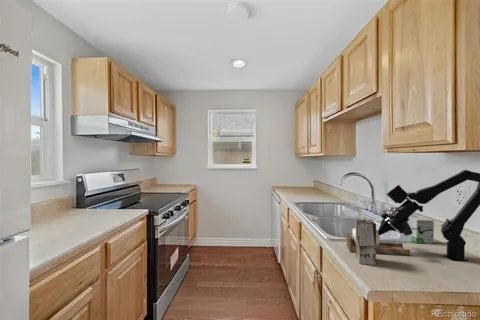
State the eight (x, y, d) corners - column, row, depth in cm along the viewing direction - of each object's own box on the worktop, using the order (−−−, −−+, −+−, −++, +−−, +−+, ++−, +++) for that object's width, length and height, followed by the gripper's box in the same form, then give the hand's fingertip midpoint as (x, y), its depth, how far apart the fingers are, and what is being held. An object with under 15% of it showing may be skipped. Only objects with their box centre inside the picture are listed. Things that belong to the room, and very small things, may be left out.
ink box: (416, 243, 151) (416, 219, 151) (411, 240, 156) (411, 217, 156) (434, 243, 151) (434, 219, 151) (428, 241, 156) (428, 217, 155)
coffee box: (376, 265, 120) (376, 223, 120) (358, 264, 121) (359, 223, 121) (371, 257, 129) (371, 219, 129) (355, 256, 130) (355, 218, 130)
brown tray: (402, 248, 142) (402, 235, 142) (409, 256, 131) (410, 242, 131) (346, 245, 147) (346, 232, 147) (349, 252, 136) (350, 238, 136)
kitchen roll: (375, 245, 143) (375, 227, 143) (379, 250, 135) (379, 231, 135) (351, 243, 145) (352, 226, 145) (354, 248, 137) (354, 230, 137)
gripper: (426, 229, 126) (397, 254, 129) (411, 220, 145) (385, 242, 147) (405, 209, 128) (377, 234, 130) (393, 203, 146) (368, 225, 149)
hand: (377, 234), depth 139 cm, fingers closed, pressing on kitchen roll
